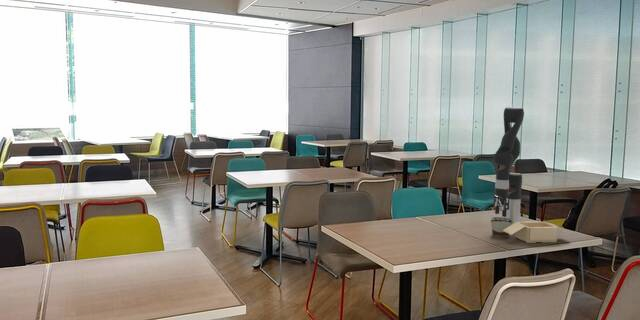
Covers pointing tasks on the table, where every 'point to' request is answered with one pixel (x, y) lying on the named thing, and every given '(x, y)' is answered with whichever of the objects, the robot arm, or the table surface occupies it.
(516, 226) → the flap front
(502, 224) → the food container
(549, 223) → the flap back
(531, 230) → the carton
